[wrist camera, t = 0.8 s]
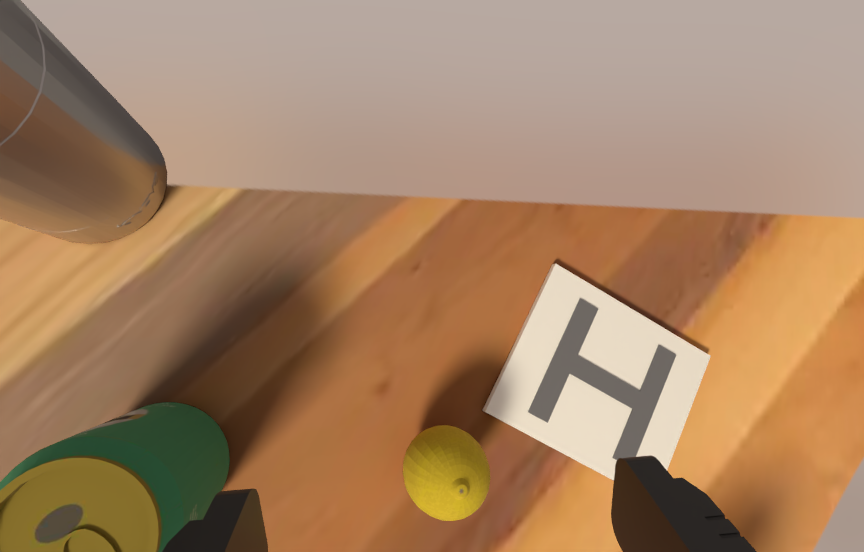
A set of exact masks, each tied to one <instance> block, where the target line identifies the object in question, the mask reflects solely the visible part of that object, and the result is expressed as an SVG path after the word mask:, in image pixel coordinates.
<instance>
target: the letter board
mask: <svg viewBox="0 0 864 552" xmlns="http://www.w3.org/2000/svg"><path fill="white" fill-rule="evenodd" d="M710 357H711V356H710V355H708V354H706V353H705V352H703V351H701V350H700V349H698V348H696V347H695V346H693V345H691V344H690V343H688V342H686V341H685V340H683V339H681V338H680V337H678V336H676V335H675V334H673V333H671V332H670V331H668V330H666V329H665V328H663V327H661V326H660V325H658V324H656V323H655V322H653V321H651V320H650V319H648V318H646V317H645V316H643V315H641V314H640V313H638V312H636V311H634V310H633V309H631V308H629V307H628V306H626V305H624V304H623V303H621V302H619V301H618V300H616V299H614V298H613V297H611V296H609V295H608V294H606V293H604V292H603V291H601V290H599V289H598V288H596V287H594V286H593V285H591V284H589V283H588V282H586V281H584V280H583V279H581V278H579V277H578V276H576V275H574V274H573V273H571V272H569V271H567V270H566V269H564V268H562V267H561V266H559V265H557V264H556V263H555V264H552V266H551V268H550V270H549V272H548V274H547V276H546V278H545V281H544V283H543V285H542V287H541V289H540V291H539V293H538V295H537V297H536V299H535V301H534V304H533V306H532V308H531V310H530V312H529V314H528V316H527V318H526V320H525V322H524V325H523V327H522V329H521V331H520V333H519V335H518V337H517V339H516V341H515V343H514V345H513V348H512V350H511V352H510V354H509V356H508V358H507V360H506V362H505V364H504V366H503V368H502V371H501V373H500V375H499V377H498V379H497V381H496V383H495V385H494V387H493V389H492V391H491V394H490V396H489V398H488V400H487V402H486V404H485V406H484V408H483V410H482V411H484V412H486V413H488V414H490V415H492V416H494V417H496V418H497V419H499V420H501V421H503V422H505V423H507V424H509V425H511V426H512V427H514V428H516V429H518V430H520V431H522V432H524V433H526V434H527V435H529V436H531V437H533V438H535V439H537V440H539V441H541V442H542V443H544V444H546V445H548V446H550V447H552V448H554V449H555V450H557V451H559V452H561V453H563V454H565V455H567V456H569V457H570V458H572V459H574V460H576V461H578V462H580V463H582V464H584V465H585V466H587V467H589V468H591V469H593V470H595V471H597V472H599V473H600V474H602V475H604V476H606V477H608V478H610V479H612V480H614V475H615V465H616V461H617V460H618V459H619V458H627V457H638V456H650V455H651V456H654V457H656V458H657V459H658V460H659V461H660V463H661V464H662V465H663V466H664V468H665V469H666V470H667V469H668V467H669V464H670V461H671V459H672V456H673V453H674V451H675V448H676V446H677V443H678V440H679V438H680V435H681V432H682V430H683V427H684V425H685V422H686V419H687V417H688V414H689V412H690V409H691V406H692V404H693V401H694V398H695V396H696V393H697V391H698V388H699V385H700V383H701V380H702V377H703V375H704V372H705V370H706V367H707V364H708V362H709V359H710Z"/></svg>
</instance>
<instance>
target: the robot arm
mask: <svg viewBox="0 0 864 552" xmlns="http://www.w3.org/2000/svg"><path fill="white" fill-rule="evenodd" d="M166 186H167V170H166V166H165V161H164V158H163V156H162V153H161V151H160V149H159V147H158V146H157V144H156V143H155V142H154V141H153V139H152V138H151V137H150V136H149V134H148V133H147V132H146V131H145V130H144V129H143V128H142V127H141V126H140V125H139V124H138V123H137V122H136V121H135V120H134V119H133V118H132V117H131V116H130V114H129V113H128V112H127V111H126V110H125V109H124V108H123V107H122V106H121V105H120V104H119V103H118V102H117V100H116V99H114V97H113V96H112V95H111V94H110V93H109V92H108V91H107V90H106V89H105V88H104V87H103V86H102V85H101V84H100V83H99V82H98V81H97V80H96V79H95V78H94V76H92V74H91V73H90V72H89V71H88V70H87V69H86V68H85V67H84V66H83V65H82V64H81V63H80V62H79V61H78V60H77V59H76V58H75V57H74V56H73V55H72V54H71V53H70V51H69V50H68V49H67V48H66V47H65V46H64V45H63V44H62V43H61V42H60V41H59V40H58V39H57V38H56V37H55V36H54V35H53V34H52V33H51V32H50V31H49V30H48V28H47V27H46V26H45V25H44V24H42V22H41V21H40V20H39V19H38V18H37V17H36V16H35V15H34V14H33V13H32V12H31V11H30V10H29V9H28V8H27V7H26V6H25V4H24V3H22V1H21V0H0V219H2V220H5V221H8V222H11V223H14V224H17V225H20V226H23V227H26V228H29V229H32V230H35V231H38V232H41V233H45V234H48V235H51V236H54V237H57V238H60V239H64V240H67V241H70V242H76V243H86V244H93V243H105V242H109V241H113V240H116V239H120V238H122V237H125V236H127V235H129V234H131V233H133V232H135V231H136V230H137V229H139V228H140V227H141V226H143V225H144V224H145V223H147V222H148V221H149V219H150V218H151V217H152V216H153V215H154V214H155V212H156V211H157V209H158V208H159V206H160V204H161V202H162V200H163V197H164V194H165V190H166ZM611 518H612V525H613V529H614V533H615V536H616V539H617V541H618V543H619V545H620V547H621V549H622V551H623V552H756V551H755V549H754V548H753V547H752V546H751V545H750V544H749V543H748V541H747V540H746V539H745V538H744V537H741V536H740V532H739V531H738V530H737V529H736V528H735V526H734V525H733V524H732V523H731V522H730V521H729V520H728V519H725V516H724V514H723V513H722V512H721V510H720V509H719V508H718V507H717V506H716V505H715V503H714V502H713V501H712V500H711V499H710V498H709V497H708V495H707V494H705V493H704V492H702V491H701V490H700V489H698V488H697V487H695V486H694V485H692V484H691V483H689V482H688V481H686V480H685V479H683V478H674V479H673V478H672V476H671V475H670V474H669V473H668V471H667V470H666V469H665V468H664V466H663V465H662V464H661V463H660V461H659V460H658V459H657V458H656V457H654V456H651V455H650V456H638V457H627V458H619V459H618V460H617V461H616V465H615V475H614V487H613V498H612V510H611ZM162 552H268V544H267V538H266V533H265V527H264V522H263V517H262V511H261V506H260V500H259V495H258V492H257V490H256V489H244V490H232V491H221V492H218V493H217V494H216V495H215V497H214V498H213V500H212V502H211V504H210V506H209V508H208V510H207V512H206V514H205V516H204V518H203V520H192V521H189V522H188V523H187V524H186V525H185V526H184V527H183V528H182V529H181V530H180V531H179V532H178V533H177V534H176V535H175V536H174V537H173V538H172V539H171V540H170V541H169V542H168V543H167V544H166V546H165V548H164V550H163V551H162Z"/></svg>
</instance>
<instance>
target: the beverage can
mask: <svg viewBox="0 0 864 552" xmlns="http://www.w3.org/2000/svg"><path fill="white" fill-rule="evenodd" d="M229 463H230V458H229V448H228V444H227V441H226V438H225V436H224V433H223V432H222V430H221V429H220V427H219V425H218V424H217V423H216V422H215V421H214V420H213V419H212V418H211V417H210V416H209V415H207V414H206V413H205V412H203V411H201V410H199V409H197V408H196V407H193V406H190V405H187V404H182V403H176V402H163V403H155V404H151V405H147V406H144V407H141V408H139V409H137V410H134V411H132V412H129V413H127V414H125V415H122V416H120V417H117V418H115V419H113V420H110V421H108V422H105V423H103V424H101V425H98V426H96V427H93V428H91V429H89V430H86V431H84V432H81V433H79V434H77V435H74V436H72V437H69V438H67V439H65V440H62V441H60V442H57V443H55V444H53V445H50V446H48V447H46V448H43V449H41V450H39V451H38V452H36V453H34V454H33V455H31V456H29V457H28V458H26V459H25V460H24V461H22V462H21V463H20V464H19V465H17V466H16V467H15V468H14V469H13V470H12V471H11V472H10V473H9V474H8V475H7V476H6V477H5V478H4V479H3V480H2V481H1V482H0V552H162V551H163V550H164V548H165V546H166V544H167V543H168V542H169V541H170V540H171V539H172V538H173V537H174V536H175V535H176V534H177V533H178V532H179V531H180V530H181V529H182V528H183V527H184V526H185V525H186V524H187V523H188V522H189V521H192V520H203V518H204V516H205V514H206V512H207V510H208V508H209V506H210V504H211V502H212V500H213V498H214V497H215V495H216V494H217V493H218V492H221V491H222V489H223V487H224V484H225V482H226V479H227V475H228V471H229Z"/></svg>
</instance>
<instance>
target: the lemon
mask: <svg viewBox="0 0 864 552" xmlns="http://www.w3.org/2000/svg"><path fill="white" fill-rule="evenodd" d="M403 477H404V482H405V486H406V489H407V491H408V493H409V495H410V497H411V499H412V500H413V501H414V502H415V504H416V505H417V506H418V507H419V508H420V509H421V510H422V511H424V512H425V513H427V514H428V515H430V516H432V517H434V518H437V519H440V520H443V521H455V520H459V519H464V518H466V517H467V516H469V515H471V514H473V513H474V512H475V511H476V510H477V509H478V508H479V507H480V506H481V504H482V503H483V501H484V500H485V498H486V495H487V493H488V490H489V484H490V470H489V464H488V461H487V458H486V455H485V453H484V451H483V449H482V448H481V446H480V445H479V443H478V442H477V441H476V440H475V439H474V438H473V437H472V436H471V435H470V434H469V433H467V432H465V431H463V430H461V429H460V428H457V427H453V426H448V425H440V426H434V427H431V428H428V429H426V430H424V431H423V432H421V433H420V434H418V435H417V436H416V437H415V438H414V440H413V441H412V442H411V444H410V445H409V447H408V449H407V451H406V454H405V457H404V461H403Z"/></svg>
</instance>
